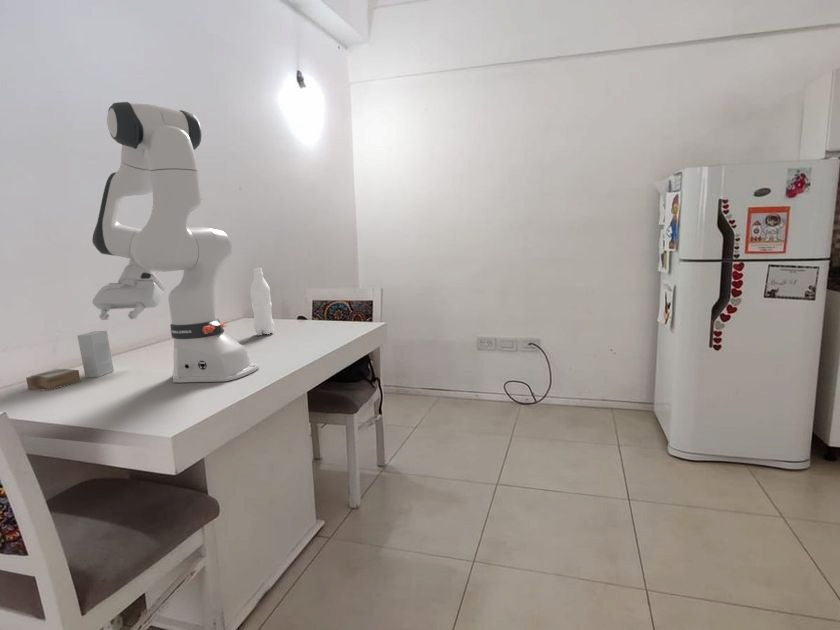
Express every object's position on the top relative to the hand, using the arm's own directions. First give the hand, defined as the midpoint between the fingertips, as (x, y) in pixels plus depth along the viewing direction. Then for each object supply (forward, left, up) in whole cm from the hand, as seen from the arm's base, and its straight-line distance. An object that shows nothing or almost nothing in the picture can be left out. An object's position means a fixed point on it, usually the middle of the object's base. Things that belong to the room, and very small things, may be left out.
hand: (117, 318), depth 144 cm
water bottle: (-18, -45, -15) cm, 51 cm away
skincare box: (-2, +10, -15) cm, 18 cm away
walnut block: (+2, +20, -14) cm, 24 cm away
